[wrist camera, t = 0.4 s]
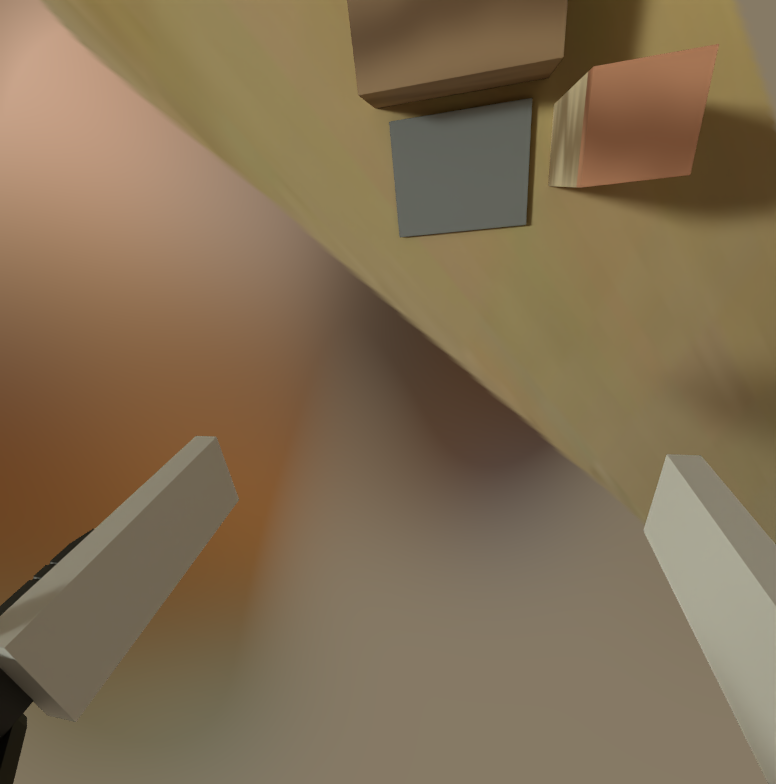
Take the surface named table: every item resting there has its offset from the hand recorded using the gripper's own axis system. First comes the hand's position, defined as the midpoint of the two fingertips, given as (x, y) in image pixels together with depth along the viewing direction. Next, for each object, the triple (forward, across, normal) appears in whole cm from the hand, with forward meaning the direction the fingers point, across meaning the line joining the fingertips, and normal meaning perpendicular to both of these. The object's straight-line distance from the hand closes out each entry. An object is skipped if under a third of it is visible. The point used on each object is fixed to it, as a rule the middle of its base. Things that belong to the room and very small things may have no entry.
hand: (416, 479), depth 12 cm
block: (+25, +10, +10) cm, 29 cm away
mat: (+25, +1, +8) cm, 27 cm away
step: (+25, 0, +18) cm, 31 cm away
